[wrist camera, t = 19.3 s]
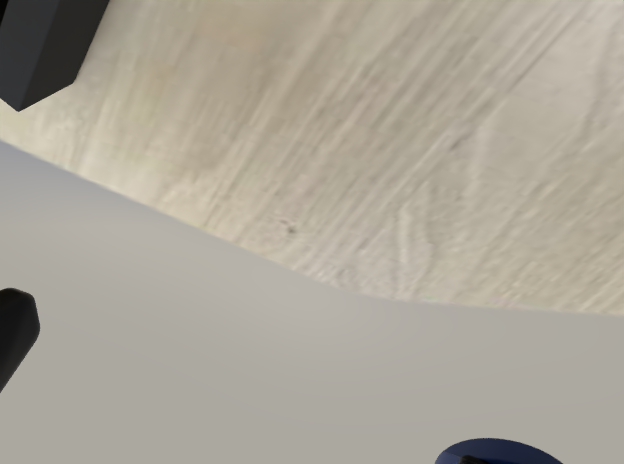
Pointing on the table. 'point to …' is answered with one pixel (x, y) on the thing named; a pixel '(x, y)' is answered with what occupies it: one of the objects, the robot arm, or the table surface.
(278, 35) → the table surface
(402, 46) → the table surface
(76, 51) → the dock pad
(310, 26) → the table surface
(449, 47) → the table surface
